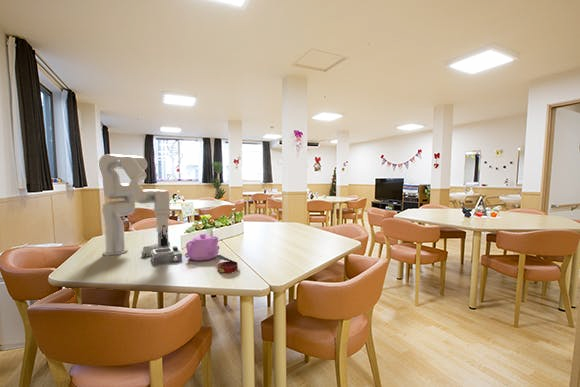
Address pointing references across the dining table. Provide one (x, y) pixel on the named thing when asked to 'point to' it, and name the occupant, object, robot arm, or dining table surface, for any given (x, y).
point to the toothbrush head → (148, 249)
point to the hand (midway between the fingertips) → (163, 244)
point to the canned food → (226, 265)
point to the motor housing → (166, 255)
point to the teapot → (202, 248)
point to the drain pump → (160, 240)
